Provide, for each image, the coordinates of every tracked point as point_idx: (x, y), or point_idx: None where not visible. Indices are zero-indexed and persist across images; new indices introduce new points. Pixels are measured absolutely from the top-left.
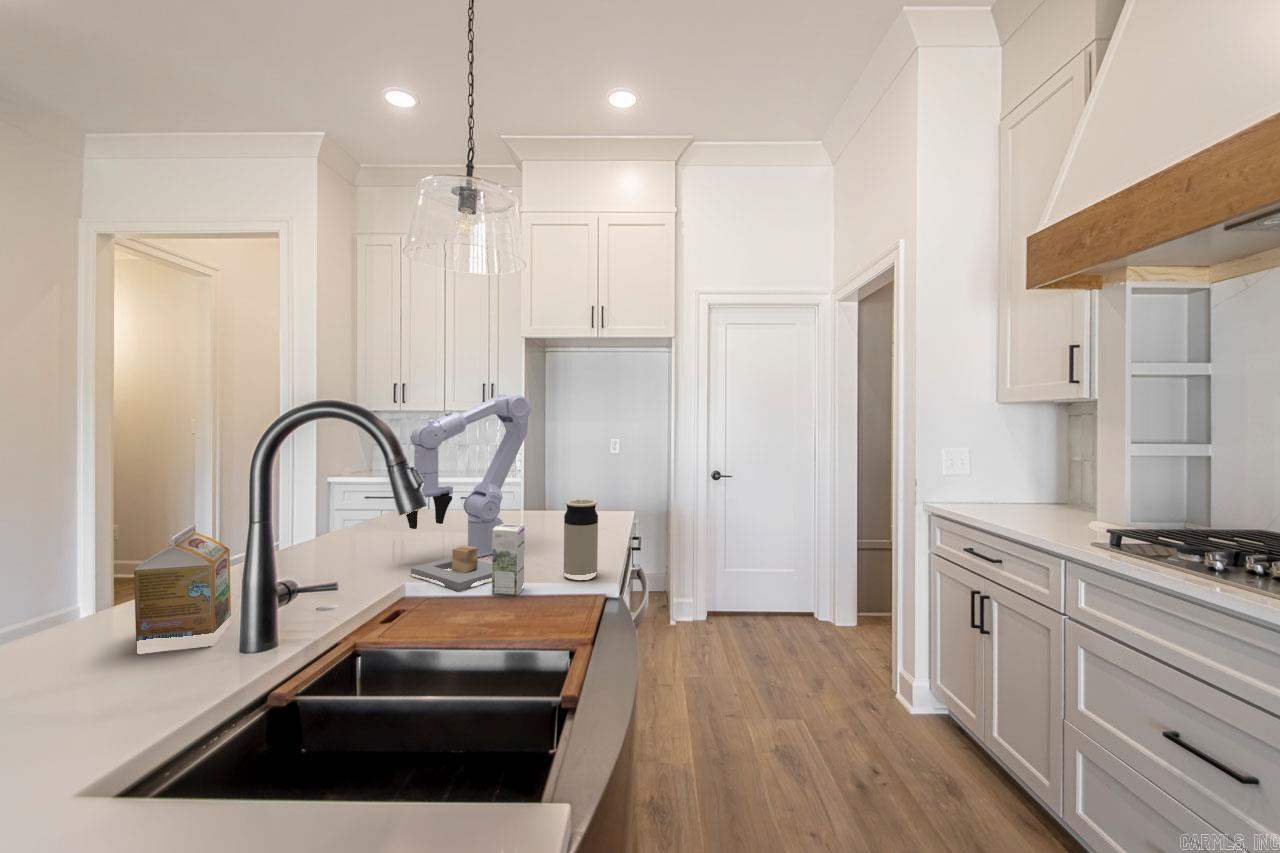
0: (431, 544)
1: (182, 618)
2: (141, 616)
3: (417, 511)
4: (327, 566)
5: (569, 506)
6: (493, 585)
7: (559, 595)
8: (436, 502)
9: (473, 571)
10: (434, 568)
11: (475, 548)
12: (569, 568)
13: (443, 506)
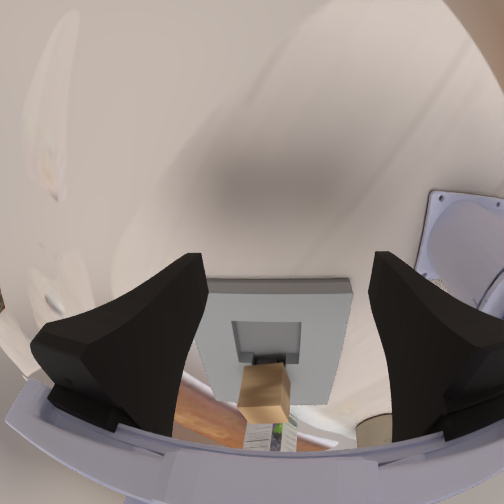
0: (430, 21)
1: None
2: None
3: (176, 385)
4: (68, 52)
5: None
6: (247, 424)
7: (302, 439)
8: (428, 353)
9: None
10: (223, 334)
11: (281, 422)
12: (357, 440)
13: (391, 392)
